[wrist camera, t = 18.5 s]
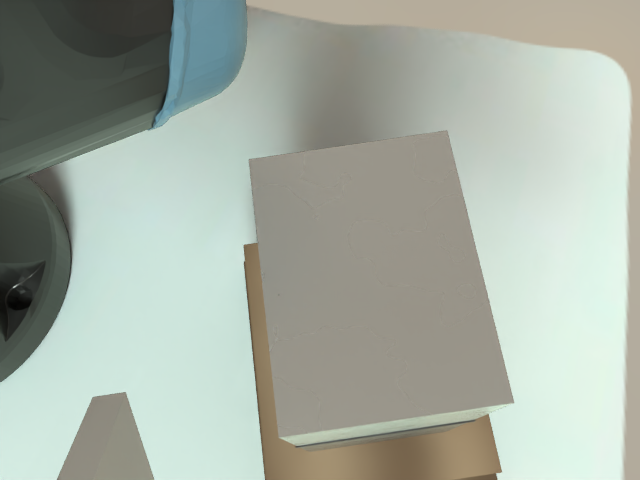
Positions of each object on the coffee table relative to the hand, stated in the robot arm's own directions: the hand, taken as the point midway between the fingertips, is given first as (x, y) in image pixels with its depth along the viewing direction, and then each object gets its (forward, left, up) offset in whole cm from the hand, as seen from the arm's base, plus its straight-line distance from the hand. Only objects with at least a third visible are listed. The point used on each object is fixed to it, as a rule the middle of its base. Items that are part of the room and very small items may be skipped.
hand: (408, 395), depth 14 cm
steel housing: (-4, +1, -13) cm, 14 cm away
